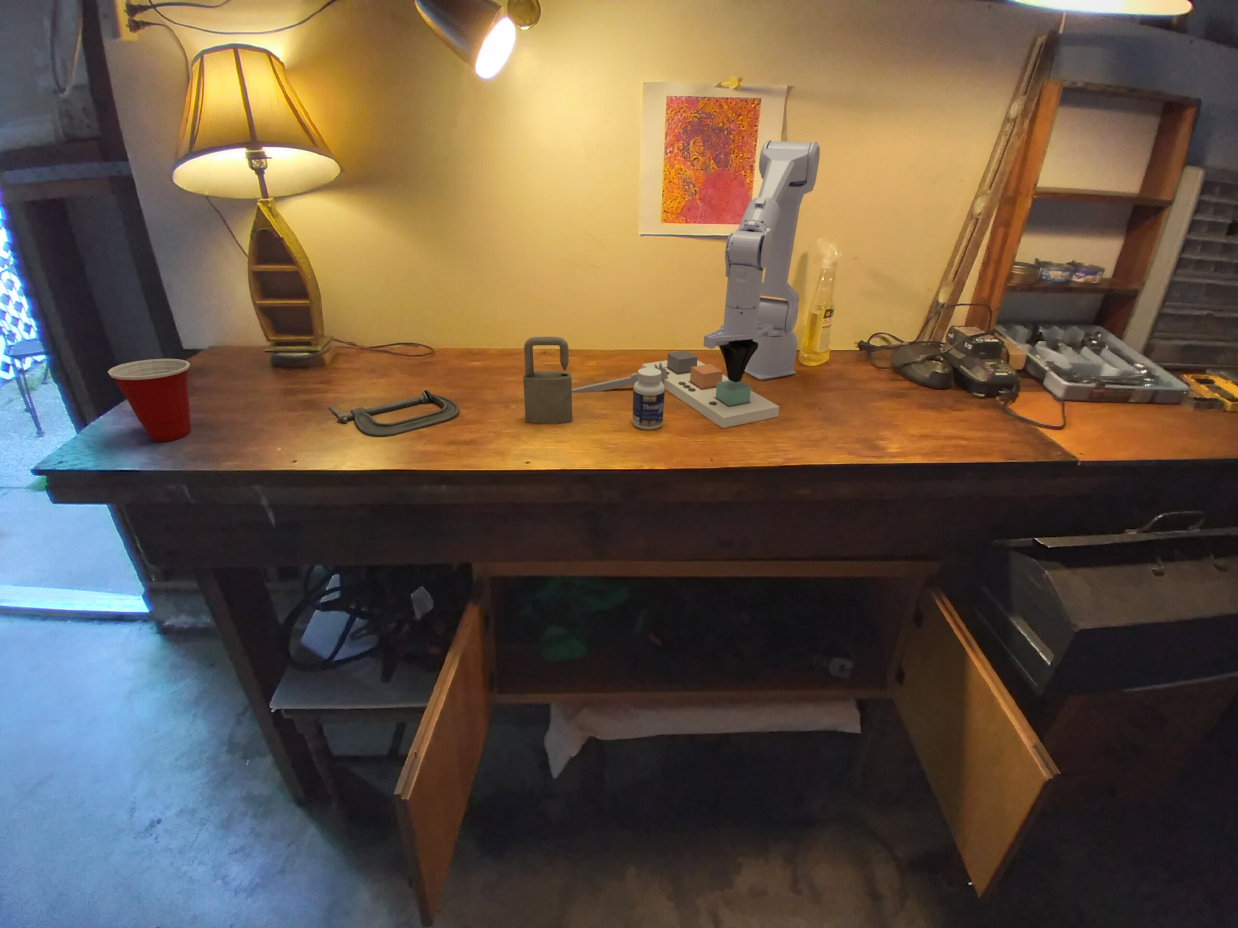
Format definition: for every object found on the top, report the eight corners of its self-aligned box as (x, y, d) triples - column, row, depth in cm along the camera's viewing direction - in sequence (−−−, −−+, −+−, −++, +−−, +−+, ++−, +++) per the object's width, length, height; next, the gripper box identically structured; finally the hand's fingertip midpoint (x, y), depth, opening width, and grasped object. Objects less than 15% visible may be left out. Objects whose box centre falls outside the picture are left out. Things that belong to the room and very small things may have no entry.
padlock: (572, 423, 115) (570, 340, 108) (525, 424, 115) (520, 340, 108) (572, 414, 119) (570, 333, 112) (526, 414, 118) (522, 333, 111)
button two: (685, 364, 137) (686, 350, 136) (696, 371, 134) (697, 357, 132) (667, 367, 135) (667, 353, 134) (677, 374, 132) (678, 359, 131)
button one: (735, 394, 123) (736, 379, 122) (749, 402, 120) (751, 387, 118) (715, 397, 121) (717, 382, 120) (729, 406, 118) (730, 390, 116)
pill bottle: (641, 432, 112) (643, 379, 108) (626, 421, 116) (628, 368, 112) (668, 427, 114) (671, 374, 110) (653, 415, 119) (655, 364, 114)
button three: (708, 378, 130) (710, 364, 129) (721, 385, 127) (722, 371, 125) (689, 381, 128) (690, 367, 127) (702, 389, 125) (703, 374, 124)
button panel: (690, 365, 143) (691, 355, 142) (777, 416, 119) (779, 405, 118) (641, 373, 138) (642, 363, 137) (722, 428, 114) (723, 417, 113)
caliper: (666, 391, 132) (667, 361, 129) (667, 393, 131) (668, 363, 128) (564, 396, 129) (563, 365, 126) (565, 398, 128) (564, 367, 125)
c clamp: (350, 448, 107) (347, 433, 105) (328, 411, 120) (325, 397, 118) (469, 422, 116) (467, 408, 115) (437, 390, 129) (435, 377, 128)
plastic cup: (224, 424, 113) (204, 357, 107) (172, 452, 103) (147, 380, 98) (172, 417, 115) (150, 351, 109) (116, 443, 106) (89, 373, 100)
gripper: (756, 295, 119) (748, 366, 125) (694, 305, 111) (689, 380, 118) (785, 303, 114) (775, 377, 120) (722, 314, 106) (715, 393, 113)
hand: (734, 380), depth 119 cm, fingers closed
